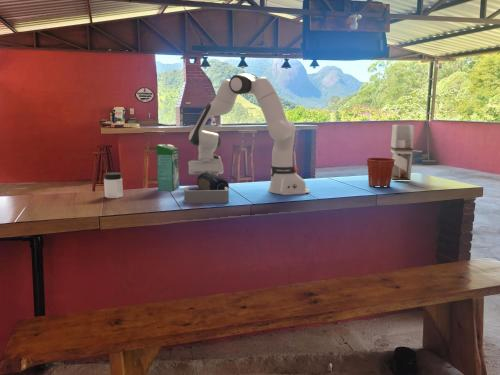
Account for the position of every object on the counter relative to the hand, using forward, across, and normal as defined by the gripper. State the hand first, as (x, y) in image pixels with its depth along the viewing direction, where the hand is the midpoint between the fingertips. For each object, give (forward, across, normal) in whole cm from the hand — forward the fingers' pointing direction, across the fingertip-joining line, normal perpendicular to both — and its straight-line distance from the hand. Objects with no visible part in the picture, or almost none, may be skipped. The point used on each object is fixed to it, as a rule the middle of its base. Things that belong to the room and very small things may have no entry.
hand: (206, 179), depth 243 cm
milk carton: (+6, -21, +1) cm, 22 cm away
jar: (+19, -47, -12) cm, 52 cm away
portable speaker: (+15, +3, -7) cm, 17 cm away
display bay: (+28, 0, -21) cm, 35 cm away
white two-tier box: (-8, +123, +15) cm, 124 cm away
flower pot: (+5, +102, +2) cm, 102 cm away
